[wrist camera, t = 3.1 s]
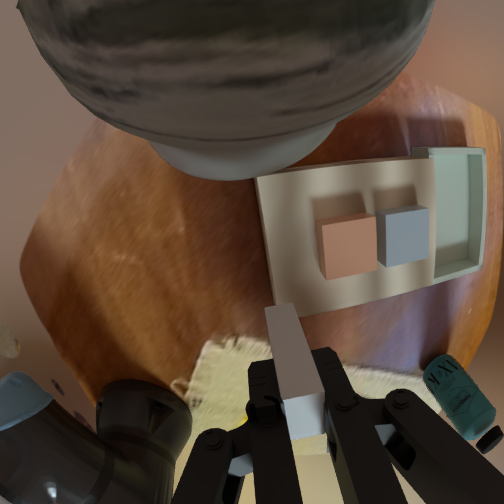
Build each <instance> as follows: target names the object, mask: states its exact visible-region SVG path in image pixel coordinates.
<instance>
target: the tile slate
mask: <svg viewBox="0 0 504 504" xmlns="http://www.w3.org/2000/svg"><path fill="white" fill-rule="evenodd" d="M376 228H377V261H379V262H380V263H381V264H382V265H384V266H385V267H386V268H388V267H392V266H396V265H401V264H405V263H409V262H413V261H418V260H422V259H426V258H428V245H429V208H426V207H424V206H421V205H418V204H417V205H410V206H403V207H397V208H390V209H383V210H377V211H376Z"/></svg>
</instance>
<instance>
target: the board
mask: <svg viewBox="0 0 504 504" xmlns="http://www.w3.org/2000/svg"><path fill="white" fill-rule="evenodd" d="M254 184H255V190H256V196H257V202H258V208H259V214H260V221H261V227H262V233H263V239H264V246H265V252H266V258H267V265H268V271H269V277H270V284H271V290H272V297H273V301H274V305H275V306H276V305H281V304H287V303H292V302H293V305H294V308H295V310H296V313H297V316H298V318H300V317H305V316H310V315H315V314H319V313H324V312H329V311H333V310H337V309H342V308H346V307H350V306H355V305H359V304H363V303H367V302H371V301H375V300H379V299H383V298H387V297H391V296H394V295H398V294H402V293H405V292H409V291H413V290H416V289H420V288H423V287H427V286H430V285H432V283H433V273H434V259H435V241H436V186H435V167H434V158H426V157H415V156H399V157H385V158H372V159H361V160H350V161H341V162H331V163H323V164H315V165H307V166H299V167H292V168H285V169H280V170H278V171H275V172H272V173H269V174H266V175H262V176H258V177H254ZM417 204H418V205H421V206H424V207H426V208H429V245H428V258H426V259H422V260H418V261H413V262H409V263H405V264H401V265H396V266H392V267H388V268H386V267H385V266H384V265H382V264H381V263H380V262H379V261H377V270H374V271H370V272H365V273H361V274H356V275H351V276H347V277H342V278H337V279H332V280H327V281H326V279H325V278H324V277H323V275H322V274H321V272H320V262H319V251H318V241H317V231H316V221H315V220H320V219H326V218H332V217H338V216H345V215H351V214H357V213H364V212H367V213H369V214H371V215H373V216H375V217H376V211H377V210H383V209H390V208H397V207H403V206H410V205H417ZM376 234H377V228H376Z"/></svg>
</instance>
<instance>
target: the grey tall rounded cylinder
mask: <svg viewBox="0 0 504 504" xmlns="http://www.w3.org/2000/svg"><path fill="white" fill-rule="evenodd" d="M434 3H435V0H18V4H17V7H16V8H17V9H19V10H20V12H21V15H22V17H23V19H24V21H25V23H26V25H27V27H28V30H29V31H30V33H31V36H32V38H33V40H34V42H35V44H36V46H37V48H38V50H39V51H40V53H41V55H42V57H43V58H44V60H45V61H46V62H47V64H48V65H49V66H50V67H51V68H52V70H53V71H54V73H55V74H56V75H57V76H58V78H59V79H60V80H61V82H62V83H63V85H64V86H65V87H66V89H67V90H68V92H69V93H70V94H71V95H72V96H73V97H74V98H75V99H76V100H77V101H79V102H80V103H81V104H82V105H83V106H85V107H86V108H87V109H88V110H89V111H90V112H92V113H93V114H94V115H95V116H97V117H99V118H100V119H102V120H104V121H105V122H107V123H109V124H110V125H112V126H114V127H116V128H118V129H121V130H123V131H126V132H128V133H130V134H133V135H136V136H139V137H141V138H144V139H147V140H148V141H149V142H150V144H151V146H152V147H153V149H154V150H155V151H156V152H157V153H158V154H159V155H160V156H161V157H162V158H163V159H164V160H165V161H166V162H167V163H169V164H170V165H171V166H173V167H175V168H176V169H178V170H180V171H182V172H184V173H187V174H189V175H192V176H195V177H199V178H203V179H209V180H220V181H231V180H243V179H249V178H254V177H258V176H262V175H266V174H269V173H272V172H275V171H278V170H280V169H283V168H285V167H288V166H290V165H292V164H294V163H296V162H297V161H299V160H301V159H302V158H304V157H305V156H307V155H308V154H310V153H311V152H312V151H313V150H315V149H316V148H317V147H318V146H319V145H320V144H321V143H322V142H323V141H324V140H325V139H326V138H327V137H328V135H329V134H330V133H331V132H332V130H333V129H334V127H335V126H336V124H337V122H339V121H341V120H343V119H344V118H346V117H348V116H349V115H351V114H353V113H354V112H356V111H357V110H359V109H360V108H362V107H363V106H365V105H366V104H368V103H369V102H370V101H371V100H373V99H374V98H375V97H377V96H378V95H379V94H380V93H381V92H382V91H383V90H385V89H386V88H387V87H388V86H389V85H390V84H391V83H392V82H393V81H394V80H395V78H396V77H397V76H398V75H399V74H400V72H401V71H402V70H403V69H404V68H405V66H406V65H407V64H408V62H409V61H410V60H411V58H412V57H413V56H414V54H415V53H416V51H417V49H418V47H419V45H420V43H421V41H422V39H423V37H424V36H425V34H426V30H427V27H428V24H429V21H430V17H431V14H432V10H433V6H434Z"/></svg>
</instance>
